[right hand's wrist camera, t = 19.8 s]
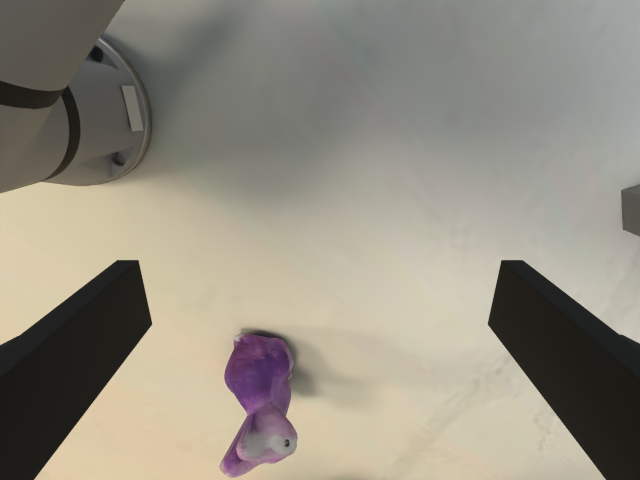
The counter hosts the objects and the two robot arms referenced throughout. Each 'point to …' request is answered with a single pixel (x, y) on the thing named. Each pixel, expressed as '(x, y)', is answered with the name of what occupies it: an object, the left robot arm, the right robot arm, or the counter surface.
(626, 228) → the slate cube
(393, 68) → the counter surface
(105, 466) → the counter surface
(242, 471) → the figurine
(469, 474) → the counter surface
